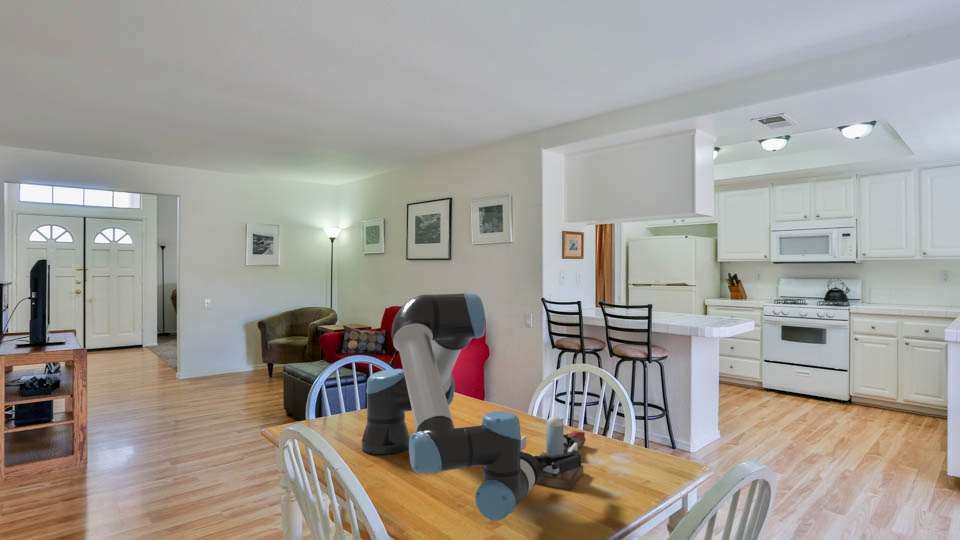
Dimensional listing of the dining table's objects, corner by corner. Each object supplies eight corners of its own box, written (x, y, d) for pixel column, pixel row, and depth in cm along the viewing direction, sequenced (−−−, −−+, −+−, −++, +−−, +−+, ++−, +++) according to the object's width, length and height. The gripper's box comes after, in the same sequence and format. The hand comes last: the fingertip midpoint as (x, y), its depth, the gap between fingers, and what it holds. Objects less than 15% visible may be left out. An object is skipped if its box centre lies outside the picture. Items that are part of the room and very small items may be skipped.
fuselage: (544, 471, 134) (543, 417, 134) (549, 465, 138) (549, 413, 138) (560, 474, 132) (560, 419, 132) (565, 468, 136) (565, 415, 136)
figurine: (588, 446, 159) (588, 424, 159) (568, 465, 144) (568, 441, 144) (567, 442, 163) (567, 421, 163) (545, 460, 148) (545, 437, 148)
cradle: (525, 481, 133) (525, 466, 133) (541, 465, 143) (541, 451, 143) (570, 490, 127) (570, 474, 127) (583, 472, 138) (583, 457, 138)
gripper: (468, 482, 117) (504, 452, 136) (576, 502, 106) (598, 467, 125) (468, 449, 117) (504, 423, 136) (575, 466, 106) (598, 436, 125)
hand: (549, 444), depth 130 cm, fingers open, 13 cm apart
